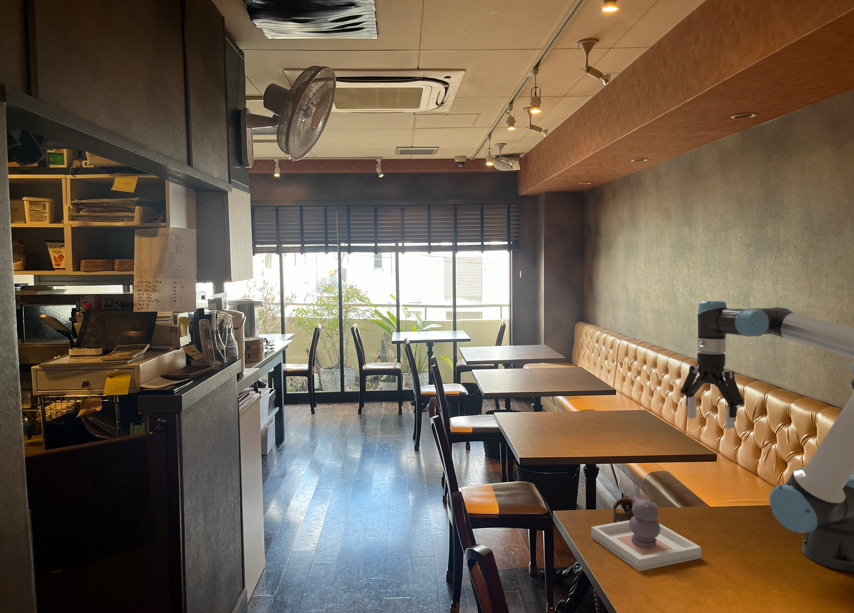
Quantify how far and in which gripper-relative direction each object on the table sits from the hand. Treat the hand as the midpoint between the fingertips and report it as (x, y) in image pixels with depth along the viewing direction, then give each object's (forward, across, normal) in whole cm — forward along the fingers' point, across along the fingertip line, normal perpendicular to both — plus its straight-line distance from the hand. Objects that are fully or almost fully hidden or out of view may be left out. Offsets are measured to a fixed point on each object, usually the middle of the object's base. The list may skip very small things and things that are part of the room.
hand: (710, 422), depth 170 cm
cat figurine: (+30, +4, -29) cm, 42 cm away
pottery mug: (+31, -11, -21) cm, 39 cm away
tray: (+31, +4, -29) cm, 43 cm away
